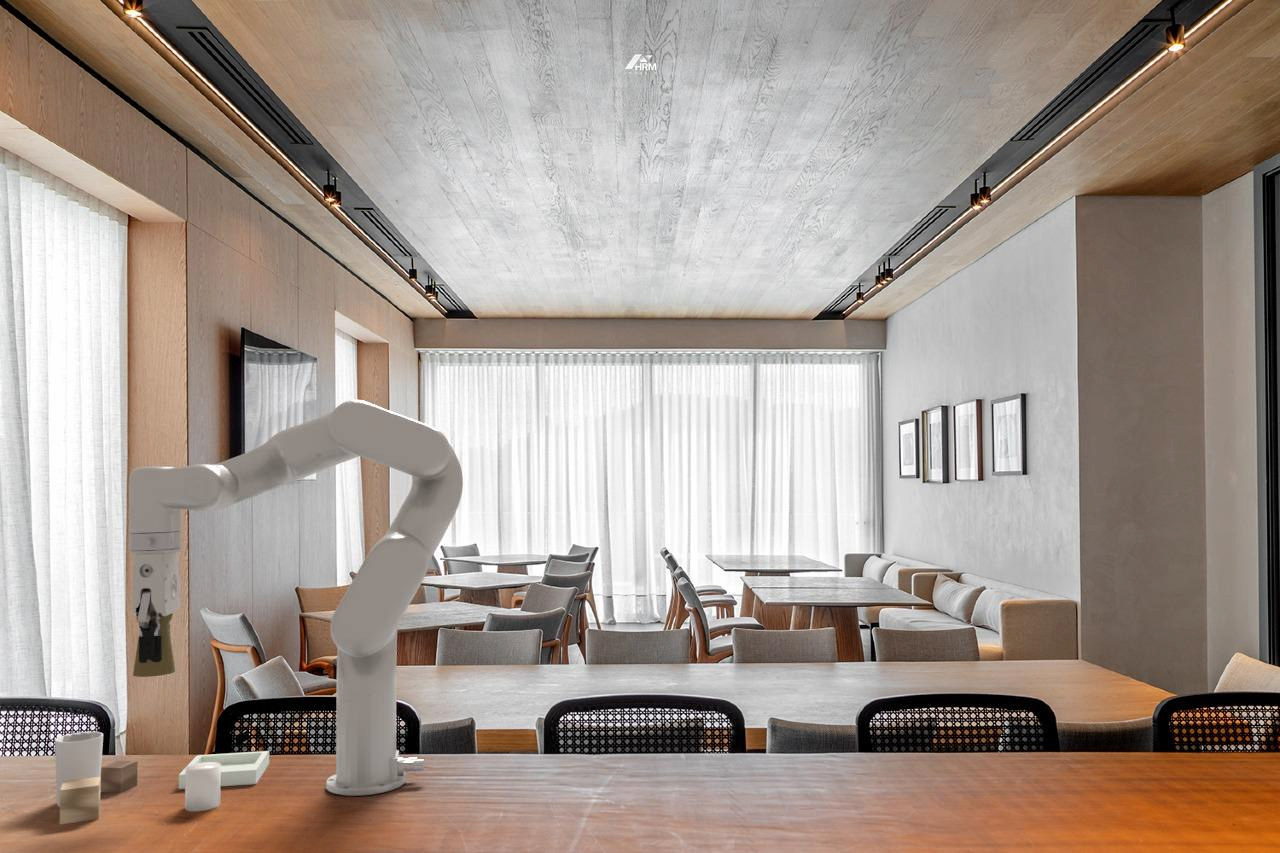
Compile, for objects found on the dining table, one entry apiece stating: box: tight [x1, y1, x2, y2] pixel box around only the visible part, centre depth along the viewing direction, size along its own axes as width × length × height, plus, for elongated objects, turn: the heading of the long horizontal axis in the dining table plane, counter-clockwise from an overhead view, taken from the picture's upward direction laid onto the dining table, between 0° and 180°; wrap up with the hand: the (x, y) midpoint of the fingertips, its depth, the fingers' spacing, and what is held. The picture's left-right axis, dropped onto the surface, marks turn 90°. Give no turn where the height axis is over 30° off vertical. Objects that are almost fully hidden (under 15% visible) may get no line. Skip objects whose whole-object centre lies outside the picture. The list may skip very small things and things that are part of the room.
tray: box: [178, 750, 270, 790], centre depth 169 cm, size 12×12×2 cm
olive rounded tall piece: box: [132, 609, 176, 678], centre depth 158 cm, size 6×6×11 cm
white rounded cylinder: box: [184, 762, 222, 812], centre depth 153 cm, size 5×5×6 cm
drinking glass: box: [54, 731, 104, 808], centre depth 156 cm, size 7×7×10 cm
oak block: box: [59, 777, 102, 825], centre depth 149 cm, size 5×5×5 cm
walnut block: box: [100, 760, 139, 794], centre depth 163 cm, size 4×4×4 cm
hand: (154, 658), depth 158 cm, fingers closed on olive rounded tall piece, 4 cm apart
